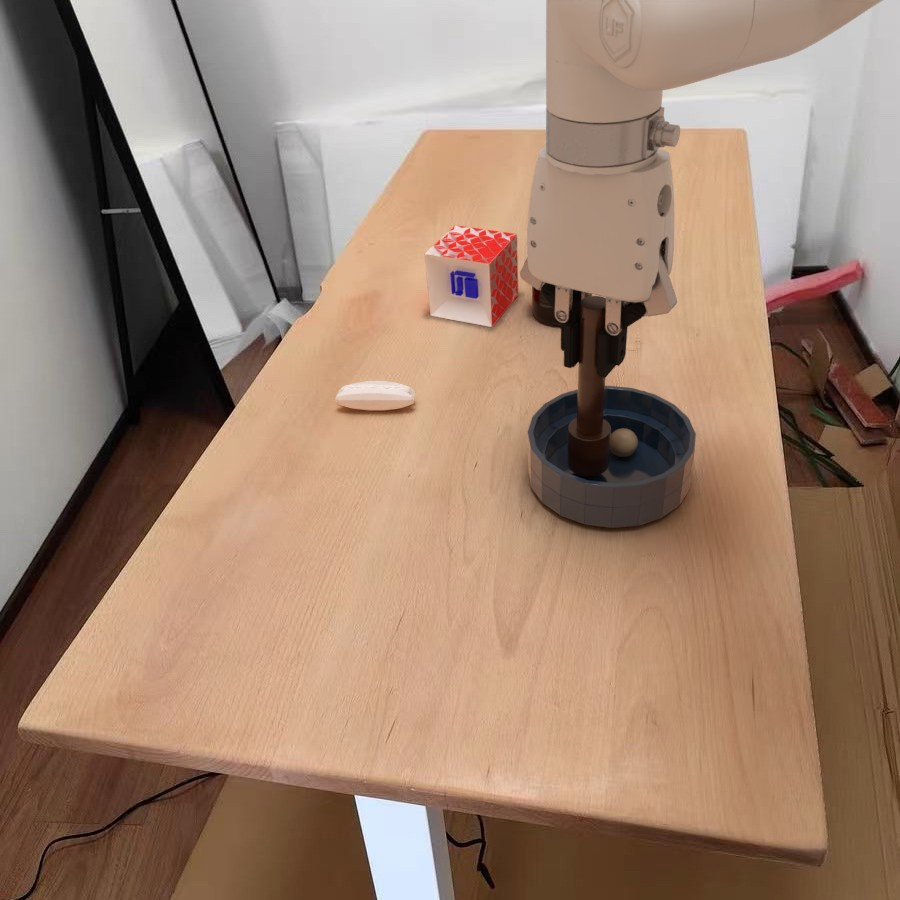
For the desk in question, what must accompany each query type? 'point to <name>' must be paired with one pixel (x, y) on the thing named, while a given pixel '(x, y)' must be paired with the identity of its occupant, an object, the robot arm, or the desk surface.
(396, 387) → the sandwich bun
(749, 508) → the desk surface
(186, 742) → the desk surface
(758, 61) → the robot arm
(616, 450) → the ball
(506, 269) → the puzzle cube
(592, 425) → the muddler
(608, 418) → the bowl
